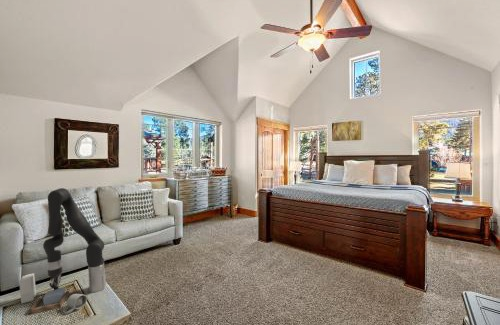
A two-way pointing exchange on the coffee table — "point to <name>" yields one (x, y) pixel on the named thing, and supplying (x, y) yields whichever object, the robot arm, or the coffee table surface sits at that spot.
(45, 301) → the slate carton
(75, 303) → the ceramic mug
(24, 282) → the skincare box
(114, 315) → the coffee table surface
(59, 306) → the display bay
